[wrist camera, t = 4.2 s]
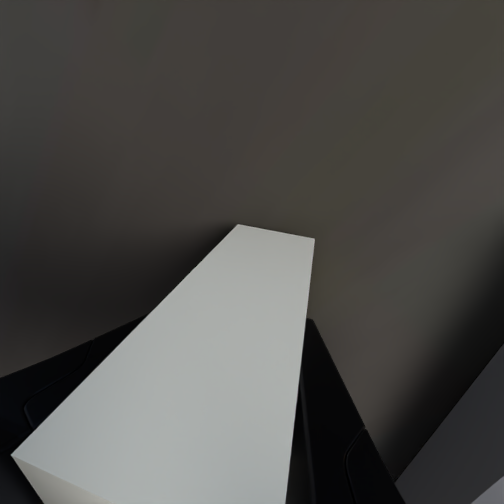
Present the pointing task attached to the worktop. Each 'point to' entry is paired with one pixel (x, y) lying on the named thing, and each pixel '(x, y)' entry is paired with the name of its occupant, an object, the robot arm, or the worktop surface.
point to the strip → (464, 449)
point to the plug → (190, 390)
